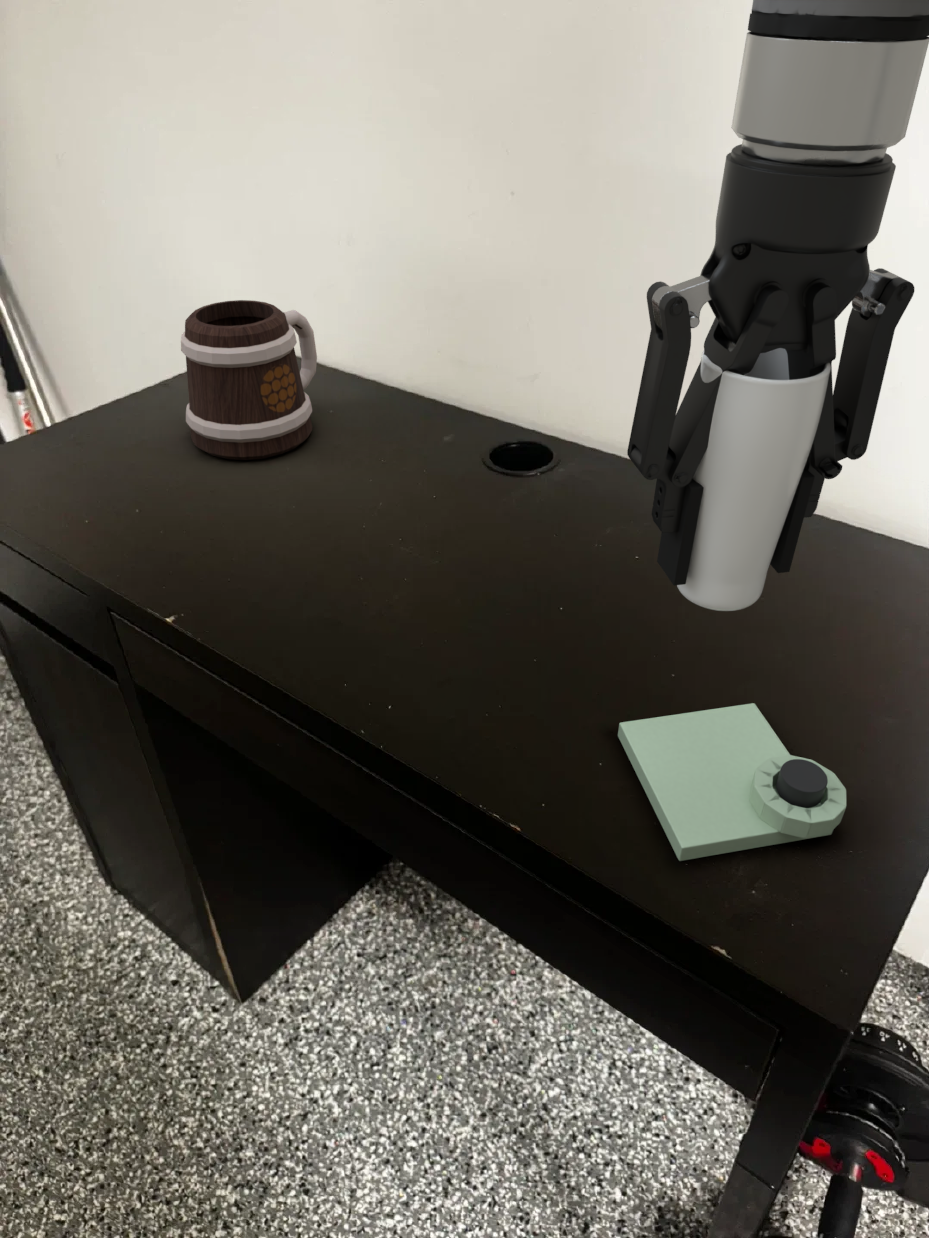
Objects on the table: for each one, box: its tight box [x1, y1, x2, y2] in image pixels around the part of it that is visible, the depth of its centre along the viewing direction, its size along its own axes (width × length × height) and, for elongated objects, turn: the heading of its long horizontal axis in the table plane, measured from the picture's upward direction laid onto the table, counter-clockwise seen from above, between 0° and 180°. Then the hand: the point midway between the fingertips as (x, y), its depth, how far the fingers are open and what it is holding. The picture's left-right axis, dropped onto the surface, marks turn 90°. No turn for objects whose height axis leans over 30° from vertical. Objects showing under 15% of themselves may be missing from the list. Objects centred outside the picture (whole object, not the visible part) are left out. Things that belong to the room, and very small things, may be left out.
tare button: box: [776, 759, 828, 808], centre depth 59 cm, size 3×3×2 cm
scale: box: [617, 702, 847, 862], centre depth 63 cm, size 13×12×3 cm
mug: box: [180, 299, 318, 461], centre depth 107 cm, size 20×15×15 cm
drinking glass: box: [676, 342, 831, 612], centre depth 51 cm, size 7×7×15 cm
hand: (722, 566), depth 55 cm, fingers closed on drinking glass, 6 cm apart
